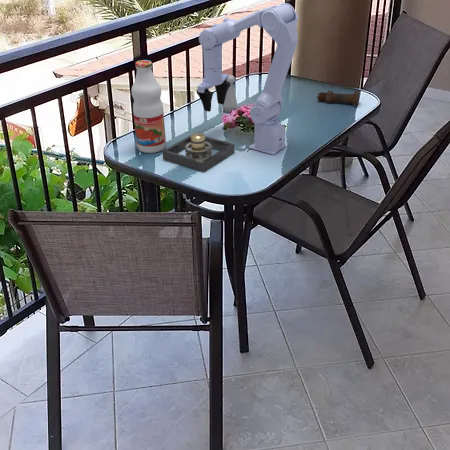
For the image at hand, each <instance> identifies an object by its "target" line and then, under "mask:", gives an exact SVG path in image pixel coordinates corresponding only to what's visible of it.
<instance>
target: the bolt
mask: <svg viewBox="0 0 450 450" xmlns="http://www.w3.org/2000/svg"><path fill="white" fill-rule="evenodd" d="M316 98H317V100H318V102H319V101H320V102H326V104H330V103H331V104H333V102H335V103H346V104H347V103H348V104H352V106H353V105H355V106H354V107H358V105H359V101H360V92H359V91H358V90H355V91H354V92H353V93H340V92H339V93H336V92H334V91H333V90H327V92H323V91H322V92H319V93H317V97H316ZM357 104H358V105H357Z"/></svg>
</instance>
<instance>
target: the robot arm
mask: <svg viewBox="0 0 450 450" xmlns="http://www.w3.org/2000/svg"><path fill="white" fill-rule="evenodd" d="M298 19H299V15H298V14H297V12H296V10H295V9H294V7H293V6H292V5H291V4H290V3H287V2H283V3H281V4H279V5H272V6H269V7H266V8H262V9H260V10H257V11H255V12H252V13H251V14H248V15H246V16H245V17H242V18H241V19H238V20H236V19H234V18H230V17H226V18H224V19H223V20H222V22H220V23H218V24H217V23H214V24H212V25H211V27H210V28H207V29H203V30H202V31H201V32H200V33H199V35H198V42H199V45H201V47H202V54H203V76H204V77H203V78H202V79H201V81H202V82H201V83H200V84H199V85H197V87H196V88H197V89H196V94H197V96H198V97H199V99H200V100H201V104H202V106H203V109H204V112H208V113H210V112H211V111H212V101H213V95H214V94H215V93H214V92H213V91H211V90H209V89H211V88H213V87H214V88H215V92H216V100H217V104H220V105H221V104H224V102H225V97H226V94H227V91H228V88H229V87H230V82H227V81H228V80H229V75H230V74H227V73H223V62H222V61H223V60H222V59H223V58H222V52H223V51H222V50H223V44H225V43H227V42H230V41H232V40H234V39H237V38H239V37H240V36H241V33H242V31H244V30H246V29H249V28H252V27H254V26H258V27H259V28H261V29H262V28H263V29H264V31H265V32H266V33H267V34H268V36H269V37H270V38H271V39H272V40H273V41H274V42H275V43H276V44H277V45H276V48H275V51H274V55H273V57H272V60H271V64H270V67H269V70H268V73H267V77H266V79H265V82H264V86H263V89H262V92H261V93H260V95H259V96H258V97H257V98H256V100H255V103H254V104H253V105H252V106H251V107H250V111H249V115H250V116H249V117H250V118H251V120H252V122H253V125H254V129H253V130H254V132H253V133H254V134H253V137H254V139H253V140H254V142H253V143H252V144H251V145H249V146H248V149H251V150H255V151H259V152H262V153H265V154H269V155H276V154H277V153H278V152H279V151H281V150H282V149H284V148H286V146H287V145H286V126H285V125H284V124H283V123H281V122H279V120H278V119H279V115H280V114H281V112H282V109H283V107H282V101H283V96H282V95H281V93H282V90H283V87H284V84H285V81H286V78H287V76H288V73H289V69H290V67H291V64H292V60H293V58H294V54H295V51H296V48H297V46H298V42H299V39H298V31H297V30H298V29H297V28H298V27H297V23H298Z"/></svg>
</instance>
